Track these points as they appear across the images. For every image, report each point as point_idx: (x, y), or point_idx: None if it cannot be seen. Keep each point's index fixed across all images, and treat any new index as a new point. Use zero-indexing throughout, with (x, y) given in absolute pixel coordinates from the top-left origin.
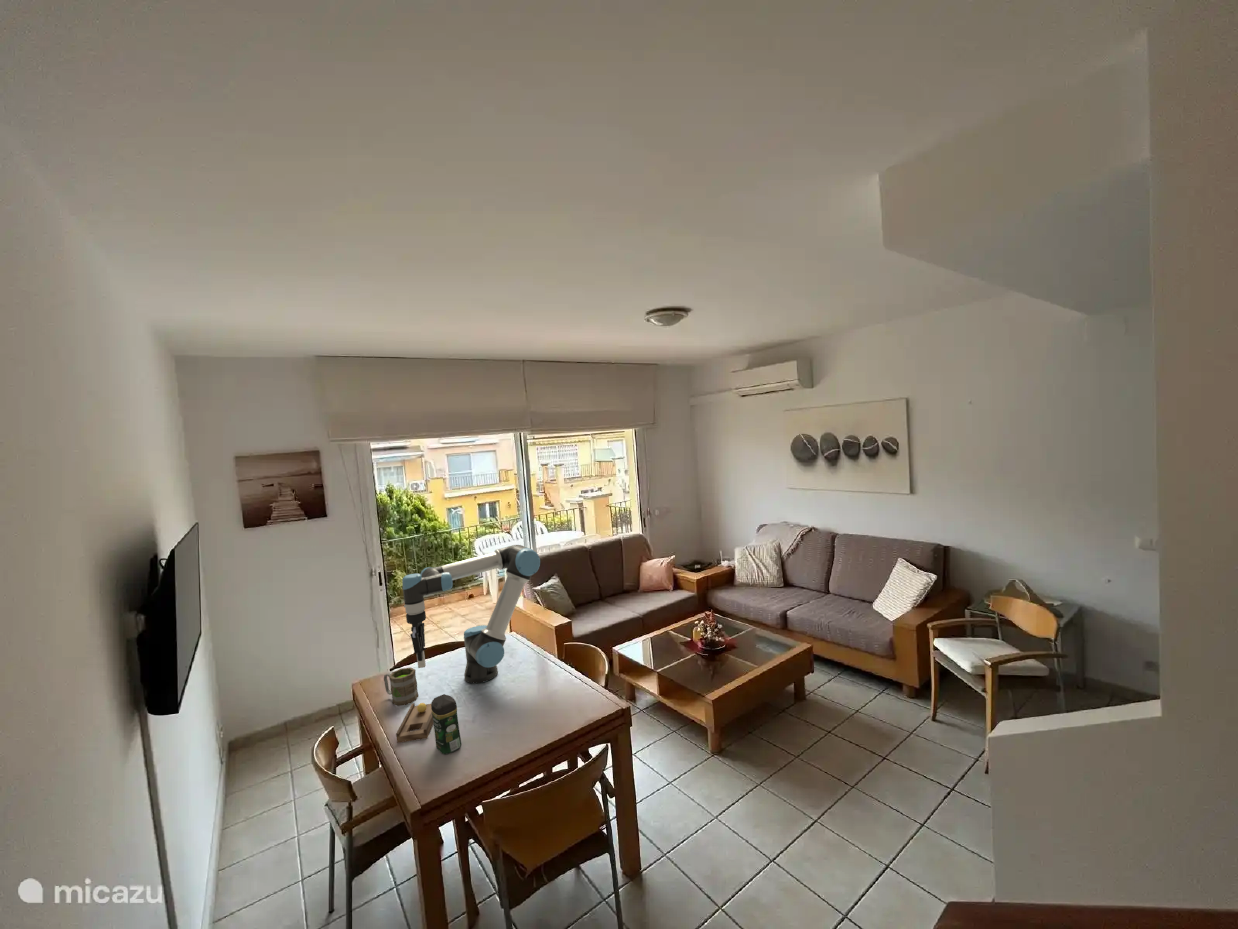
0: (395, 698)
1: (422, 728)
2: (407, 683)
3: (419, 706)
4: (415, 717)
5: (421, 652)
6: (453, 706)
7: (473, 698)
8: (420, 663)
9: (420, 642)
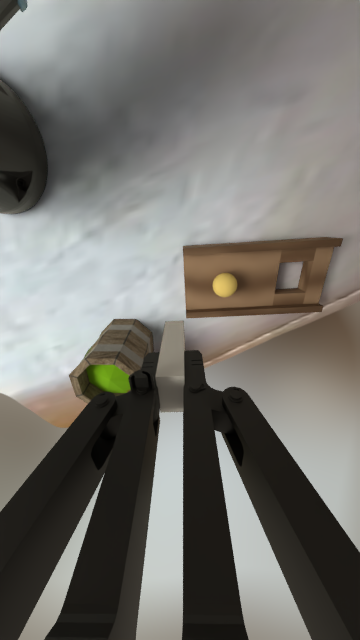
0: None
1: (309, 256)
2: (134, 356)
3: (235, 290)
4: (244, 291)
5: (206, 386)
6: None
7: (145, 140)
8: (184, 349)
9: (221, 489)
